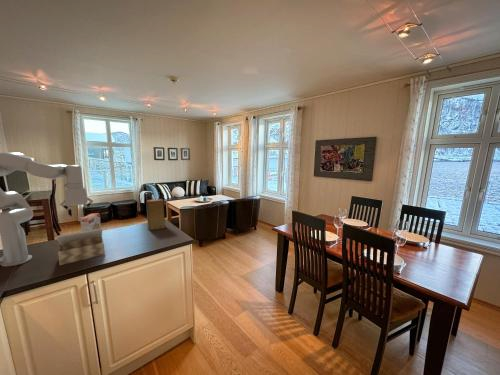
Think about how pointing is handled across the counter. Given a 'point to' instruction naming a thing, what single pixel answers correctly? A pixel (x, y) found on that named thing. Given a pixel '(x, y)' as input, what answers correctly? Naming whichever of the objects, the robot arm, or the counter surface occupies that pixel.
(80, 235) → the lid
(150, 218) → the food packaging
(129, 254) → the counter surface
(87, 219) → the cracker box
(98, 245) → the storage box
